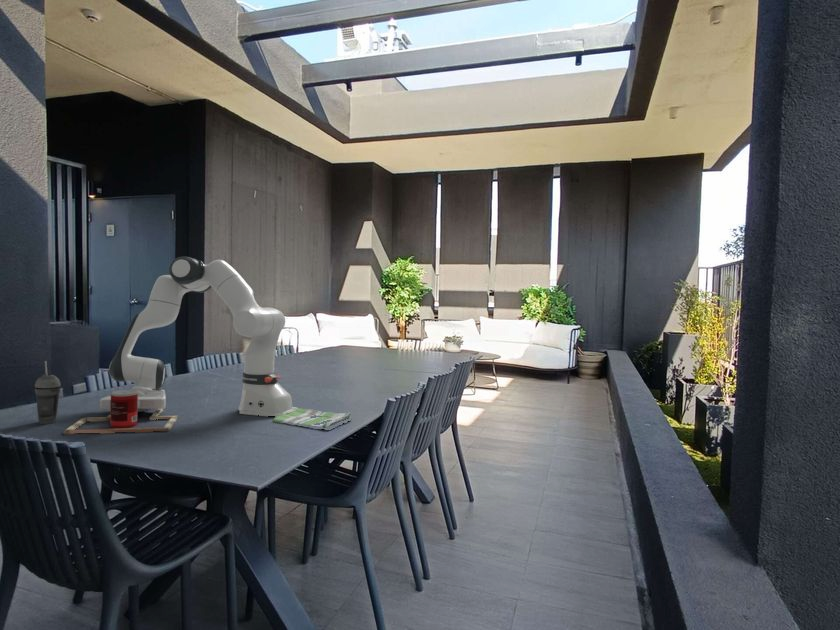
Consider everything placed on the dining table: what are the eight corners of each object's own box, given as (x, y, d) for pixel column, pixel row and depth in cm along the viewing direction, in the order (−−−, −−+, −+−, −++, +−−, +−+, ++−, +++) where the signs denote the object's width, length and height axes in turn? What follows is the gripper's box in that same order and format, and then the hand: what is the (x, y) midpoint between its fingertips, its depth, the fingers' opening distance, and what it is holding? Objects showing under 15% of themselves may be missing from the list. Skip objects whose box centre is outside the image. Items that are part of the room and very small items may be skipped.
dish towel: (327, 433, 175) (328, 422, 175) (270, 423, 183) (271, 413, 183) (353, 422, 191) (353, 412, 191) (299, 414, 199) (299, 404, 199)
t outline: (97, 409, 190) (97, 407, 190) (184, 408, 198) (184, 405, 198) (63, 434, 159) (63, 431, 159) (168, 431, 167) (168, 428, 167)
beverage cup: (43, 425, 167) (44, 363, 166) (28, 423, 170) (28, 361, 169) (66, 420, 174) (67, 360, 173) (50, 418, 176) (51, 359, 176)
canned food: (135, 421, 177) (135, 388, 177) (139, 426, 171) (139, 393, 170) (108, 424, 172) (109, 390, 172) (112, 429, 166) (112, 395, 166)
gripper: (106, 390, 186) (93, 398, 172) (169, 389, 191) (161, 397, 178) (106, 407, 186) (93, 417, 173) (169, 406, 191) (161, 416, 178)
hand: (128, 407), depth 175 cm, fingers closed
